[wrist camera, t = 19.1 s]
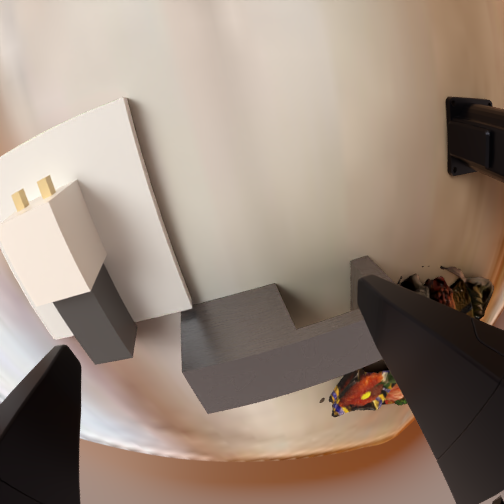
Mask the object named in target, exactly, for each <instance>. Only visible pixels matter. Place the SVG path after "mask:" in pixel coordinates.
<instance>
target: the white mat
mask: <svg viewBox="0 0 504 504" xmlns="http://www.w3.org/2000/svg"><path fill="white" fill-rule="evenodd" d="M49 175H50V177H51V180H52V182H53V185H54V188H55V189H56V188H58V187H61V186H63V185H65V184H67V183H70V182H72V181H74V180H77V181H78V184H79V186H80V189H81V192H82V195H83V197H84V200H85V203H86V205H87V208H88V210H89V213H90V215H91V218H92V220H93V223H94V225H95V228H96V230H97V232H98V235H99V237H100V239H101V242H102V244H103V246H104V248H105V251H106V253H107V256H106V258H105V260H104V262H103V263H104V265H105V267H106V269H107V271H108V273H109V275H110V277H111V279H112V281H113V283H114V285H115V287H116V289H117V291H118V293H119V295H120V297H121V299H122V301H123V303H124V304H125V306H126V308H127V310H128V312H129V314H130V315H131V317H132V319H133V321H134V322H139V321H143V320H147V319H151V318H156V317H160V316H164V315H168V314H172V313H176V312H180V311H184V310H188V309H192V299H191V296H190V293H189V291H188V288H187V286H186V283H185V281H184V278H183V275H182V273H181V270H180V267H179V265H178V262H177V259H176V256H175V254H174V251H173V248H172V245H171V242H170V240H169V237H168V234H167V231H166V228H165V225H164V222H163V219H162V216H161V213H160V210H159V207H158V204H157V201H156V198H155V195H154V192H153V189H152V185H151V182H150V179H149V176H148V172H147V169H146V166H145V162H144V159H143V156H142V152H141V149H140V145H139V142H138V138H137V134H136V131H135V127H134V123H133V119H132V116H131V112H130V108H129V104H128V100H127V98H125V97H123V98H120V99H117V100H114V101H112V102H109V103H107V104H104V105H101V106H99V107H97V108H94V109H92V110H89V111H87V112H85V113H82V114H80V115H78V116H76V117H73V118H71V119H69V120H67V121H65V122H63V123H61V124H59V125H56V126H54V127H52V128H50V129H48V130H46V131H45V132H43V133H41V134H39V135H37V136H35V137H33V138H31V139H30V140H28V141H26V142H24V143H22V144H21V145H19V146H17V147H16V148H14V149H12V150H11V151H9V152H7V153H6V154H4V155H2V156H1V157H0V223H1V222H3V221H4V220H5V219H6V218H8V217H9V216H10V215H11V214H13V213H14V212H15V211H16V210H17V209H16V207H15V204H14V202H13V199H12V196H11V195H12V194H14V193H15V192H17V191H19V190H21V189H24V191H25V194H26V197H27V199H28V202H29V201H31V200H33V199H35V198H37V197H39V196H41V193H40V190H39V187H38V184H37V181H39V180H41V179H42V178H44V177H47V176H49ZM0 249H1V251H2V253H3V255H4V257H5V259H6V261H7V263H8V265H9V267H10V269H11V271H12V272H13V274H14V276H15V278H16V280H17V282H18V283H19V285H20V287H21V289H22V290H23V292H24V294H25V295H26V297H27V299H28V300H29V302H30V304H31V305H32V307H33V309H34V310H35V312H36V313H37V315H38V316H39V318H40V319H41V321H42V322H43V324H44V325H45V327H46V328H47V330H48V331H49V333H50V334H51V336H52V337H53V338H54V340H56V339H61V338H66V337H71V336H74V335H73V333H72V332H71V330H70V329H69V327H68V326H67V324H66V323H65V321H64V320H63V318H62V317H61V315H60V314H59V312H58V310H57V309H56V307H55V306H54V304H53V302H51V303H48V304H44V305H41V306H37V307H36V306H35V304H34V302H33V301H32V299H31V297H30V296H29V294H28V292H27V291H26V289H25V287H24V286H23V284H22V282H21V280H20V278H19V277H18V275H17V273H16V271H15V269H14V267H13V266H12V264H11V262H10V260H9V258H8V256H7V254H6V252H5V250H4V248H3V246H2V243H1V241H0Z"/></svg>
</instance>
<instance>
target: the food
mask: <svg viewBox="0 0 504 504" xmlns="http://www.w3.org/2000/svg"><path fill="white" fill-rule="evenodd" d="M422 267H424V266H422ZM428 267H429V266H428ZM440 268H441V269H447V270H449V271H451V272H452V273H454V274H456V275H457V276H459V277H460V278H459V279H458V280H457V281H456V282H455V283H454V284H453V285H451V286H450V287H448V285H447V284H446V282H445V280H444V278H443V277H442V276H440V277H437V278H435V279H434V280H430V279H427V281H426V282H425V284H424V285H422V284H421V282H420V281H419V275H418V274H414V275H412V276H410V277H409V278H407V279H405V280H404V281H403V282H402V283H401V284H400V280H399V281H398V283H397V284H400V286H402V287H404V288H407V289H409V290H411V291H414V292H416V293H418V294H421V295H423V296H425V297H428V298H430V299H432V300H435V301H437V302H439V303H441V304H444V305H446V306H448V307H451V308H453V309H455V310H457V311H460V312H462V313H464V314H466V315H469V316H470V317H471V318H472V317H473V318H476V319H478V320H480V319H481V318H482V317H483V316H484V313H485V310H486V307H487V305H488V303H489V301H490V298H491V296H492V293H493V290H494V286H493V285H492V283H491V282H490V281H489V279H486V278H482V277H476V278H465V277H464V275H463V273H462V272H461V270H460V269H457V268H456V267H449V268H444V267H442V266H441V267H440ZM400 279H402V276H401V278H400ZM323 401H324V398H322V399H321V400H320V402H319V403H322V402H323ZM329 402H332V403H333V405H332V407H333V411H332V416H333V417H337V416H341V415H342V414H345V413H347V412H350V411H355V410H377V409H379V408H380V407H381V404H392V403H395V404H397V405H403V404H407V401H406V400H405V398H404V396H403V394H402V392H401V390H400V389H399V387H398V385H397V383H396V381H395V379H394V378H393V376H392V374H391V372H390V371H389V370H384V371H380V372H379V373H374V372H372V373H367V372H364V370H363V369H362V368H360V369H358V370H355V371H353V372H350V373H348V374H345V375H344V377H343V378H342V379H341V381H340V382H339V383H338V385H337V386H336V387H335V389H334V390H333V392H332V394H331V396H330V397H329Z"/></svg>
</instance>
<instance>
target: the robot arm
mask: <svg viewBox="0 0 504 504" xmlns="http://www.w3.org/2000/svg"><path fill="white" fill-rule="evenodd" d="M451 102H452V104H451ZM446 110H447V127H448V172H449V174H450V175H453V176H456V175H461V174H466V173H471V172H477V171H479V172H481V173H483V174H486V175H488V176H490V177H492V178H495V179H497V180H499V181H501V182H503V183H504V109H500V108H495V107H492V102H491V101H490V100H487V99H476V98H463V97H448V98H447V99H446ZM453 168H454V169H453ZM357 303H358V307H359V309H360V311H361V314H362V316H363V318H364V320H365V322H366V325H367V327H368V329H369V332H370V334H371V336H372V338H373V341H374V343H375V345H376V347H377V349H378V351H379V353H380V355H381V357H382V358H383V360H384V362H385V364H386V365H387V367H388V369H389V371H390V372H391V374H392V376H393V378H394V379H395V381H396V383H397V385H398V387H399V389H400V390H401V392H402V394H403V396H404V398H405V400H406V401H407V403H408V405H409V407H410V409H411V411H412V413H413V414H414V416H415V418H416V420H417V422H418V424H419V426H420V428H421V430H422V432H423V434H424V436H425V438H426V440H427V442H428V444H429V446H430V447H431V450H432V452H433V454H434V456H435V458H436V459H437V462H438V464H439V467H440V468H441V471H442V473H443V475H444V477H445V479H446V481H447V484H448V486H449V488H450V490H451V492H452V495H453V497H454V499H455V501H456V504H479V503H481V502H483V501H485V500H487V499H489V498H491V497H493V496H495V495H496V494H498V493H500V496H499V497H498V498H497V499H495V500H494V501H493V503H492V504H504V330H501V329H499V328H496V327H494V326H492V325H489V324H487V323H484V322H482V321H480V320H478V319H476V318H473V317H472V318H471V317H470V316H469V315H466V314H464V313H462V312H460V311H457V310H455V309H453V308H451V307H448V306H446V305H444V304H441V303H439V302H437V301H435V300H432V299H430V298H428V297H425V296H423V295H421V294H418V293H416V292H414V291H411V290H409V289H407V288H404V287H402V286H400V285H397V284H395V283H393V282H390V281H388V280H385V279H383V278H381V277H378V276H376V275H373V274H368V275H365V276H362V277H360V278H359V279H358V284H357ZM80 420H81V364H80V362H79V360H78V359H77V358H76V356H75V355H74V354H73V352H72V351H71V350H70V348H69V347H68V346H67V345H57V346H55V347H54V348H53V349H52V350H51V351H50V352H49V353H48V354H47V355H46V356H45V357H44V358H43V359H42V360H41V361H40V362H39V363H38V364H37V365H36V366H35V367H34V368H33V369H32V370H31V371H30V372H29V373H28V375H27V376H26V377H25V378H24V379H23V380H22V381H21V382H20V383H19V384H18V385H17V386H16V388H15V389H14V390H13V391H12V392H11V393H10V394H9V395H8V396H7V397H6V399H5V400H4V401H3V402H2V403H1V404H0V504H80V489H79V488H80V487H79V440H80Z"/></svg>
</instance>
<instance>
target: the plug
mask: <svg viewBox="0 0 504 504" xmlns="http://www.w3.org/2000/svg"><path fill="white" fill-rule="evenodd" d="M37 184H38V187H39V190H40V193H41V196H39V197H37V198H35V199H33V200H31V201H29V202H28V199H27V197H26V194H25V191H24V189H21V190H19V191H17V192H15V193H14V194H12V195H11V196H12V199H13V202H14V204H15V207H16V209H17V210H16V211H15V212H14V213H13V214H11V215H10V216H9V217H8V218H6V219H5V220H4V221H3V222H1V223H0V241H1V243H2V246H3V248H4V250H5V252H6V254H7V256H8V258H9V260H10V262H11V264H12V266H13V267H14V269H15V271H16V273H17V275H18V277H19V278H20V280H21V282H22V284H23V286H24V287H25V289H26V291H27V292H28V294H29V296H30V297H31V299H32V301H33V302H34V304H35V306H36V307H37V306H41V305H44V304H48V303H51V302H53V304H54V306H55V307H56V309H57V310H58V312H59V314H60V315H61V317H62V318H63V320H64V321H65V323H66V324H67V326H68V327H69V329H70V330H71V332H72V333H73V335H74V336H75V338H76V339H77V340H78V342H79V343H80V345H81V346H82V347H83V349H84V350H85V352H86V353H87V354H88V356H89V357H90V358H91V360H92V361H93V362H94V363H95V364H101V363H107V362H112V361H118V360H123V359H128V358H133V352H134V345H135V338H136V332H137V326H136V324H135V322H134V321H133V319H132V317H131V315H130V314H129V312H128V310H127V308H126V306H125V304H124V303H123V301H122V299H121V297H120V295H119V293H118V291H117V289H116V287H115V285H114V283H113V281H112V279H111V277H110V275H109V273H108V271H107V269H106V267H105V265H104V263H103V262H104V260H105V258H106V256H107V253H106V251H105V248H104V246H103V244H102V242H101V239H100V237H99V235H98V232H97V230H96V228H95V225H94V223H93V220H92V218H91V215H90V213H89V210H88V208H87V205H86V203H85V200H84V197H83V195H82V192H81V189H80V186H79V184H78V181H77V180H74V181H72V182H70V183H67V184H65V185H63V186H61V187H58V188H56V189H55V188H54V185H53V182H52V180H51V177H50V175H49V176H47V177H44V178H42V179H41V180H39V181H37Z"/></svg>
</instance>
